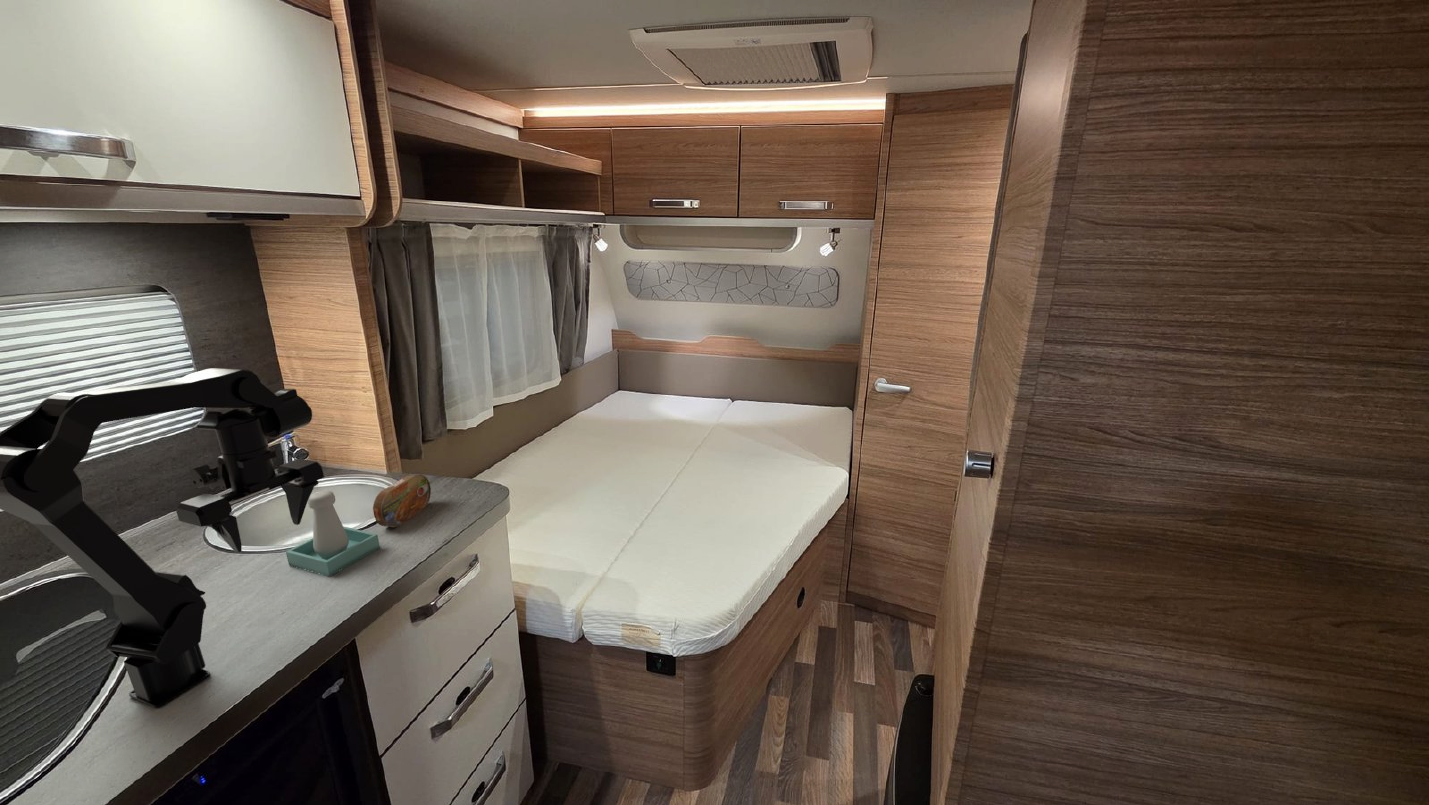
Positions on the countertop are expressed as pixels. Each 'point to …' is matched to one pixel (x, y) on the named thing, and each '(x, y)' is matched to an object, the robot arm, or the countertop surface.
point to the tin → (402, 500)
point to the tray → (356, 549)
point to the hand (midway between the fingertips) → (268, 537)
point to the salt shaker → (327, 526)
